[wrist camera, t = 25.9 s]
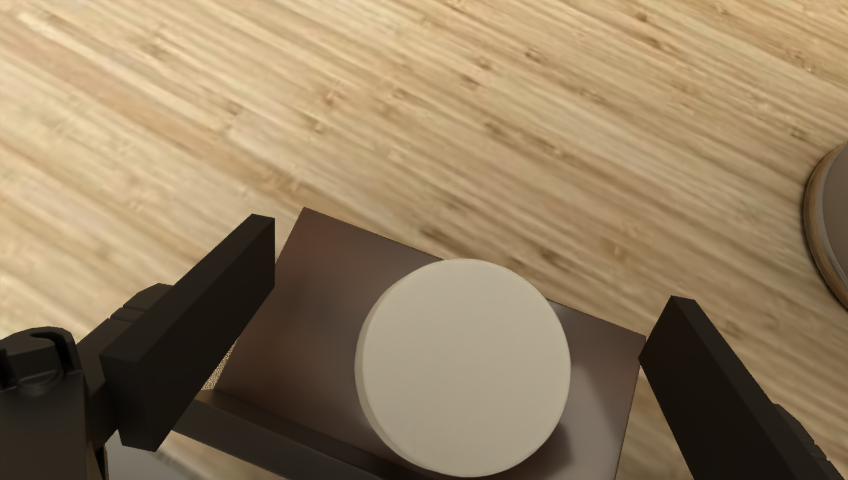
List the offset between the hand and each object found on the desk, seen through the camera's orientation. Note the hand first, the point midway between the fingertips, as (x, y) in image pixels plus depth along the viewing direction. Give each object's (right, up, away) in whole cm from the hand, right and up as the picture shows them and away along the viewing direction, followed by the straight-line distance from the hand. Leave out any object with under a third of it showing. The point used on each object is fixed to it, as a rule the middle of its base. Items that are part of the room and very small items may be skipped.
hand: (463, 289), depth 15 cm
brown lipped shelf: (-1, -6, +10) cm, 12 cm away
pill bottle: (-1, -4, +5) cm, 6 cm away
